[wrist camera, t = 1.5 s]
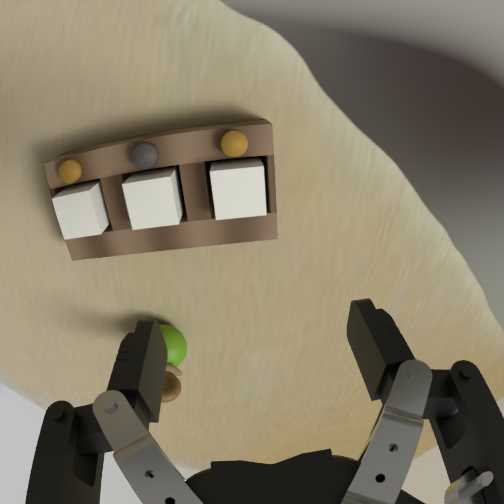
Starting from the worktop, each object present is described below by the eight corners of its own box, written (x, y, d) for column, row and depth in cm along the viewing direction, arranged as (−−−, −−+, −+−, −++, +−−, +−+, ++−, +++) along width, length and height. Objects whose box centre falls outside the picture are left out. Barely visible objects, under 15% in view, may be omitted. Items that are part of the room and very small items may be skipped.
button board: (85, 243, 30) (69, 264, 26) (60, 154, 25) (38, 166, 21) (272, 222, 30) (279, 243, 27) (266, 119, 25) (273, 125, 22)
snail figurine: (138, 309, 34) (115, 391, 24) (191, 319, 36) (183, 404, 25) (137, 340, 37) (119, 417, 27) (185, 349, 38) (178, 428, 28)
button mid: (141, 215, 27) (132, 230, 24) (132, 173, 25) (121, 184, 22) (183, 210, 27) (179, 224, 24) (176, 166, 25) (170, 176, 22)
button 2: (77, 225, 26) (64, 239, 24) (66, 187, 24) (51, 198, 22) (112, 219, 27) (101, 234, 24) (102, 179, 25) (89, 190, 22)
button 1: (217, 206, 27) (216, 220, 24) (211, 162, 25) (209, 171, 22) (262, 201, 27) (266, 215, 24) (259, 157, 25) (263, 166, 22)
